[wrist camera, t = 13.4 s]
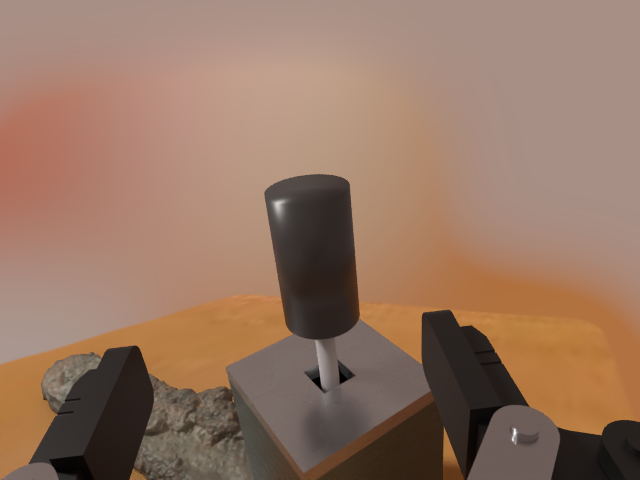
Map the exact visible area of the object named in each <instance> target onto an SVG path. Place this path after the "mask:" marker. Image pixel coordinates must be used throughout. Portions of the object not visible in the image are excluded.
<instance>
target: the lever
mask: <svg viewBox="0 0 640 480" xmlns="http://www.w3.org/2000/svg"><path fill="white" fill-rule="evenodd" d="M264 194H265V201H266V206H267V213H268V219H269V225H270V231H271V237H272V243H273V249H274V255H275V262H276V268H277V273H278V280H279V285H280V292H281V298H282V304H283V310H284V316H285V322H286V326H287V327H288V329H289V330H290V331H291V332H292V333H293V334H295V335H297V336H299V337H302V338H306V339H313V340H315V341H316V349H317V356H318V364H319V371H320V379H321V386H322V392H323V393H324V394H325V393H326V392H328V391H330V390H332V389H333V388H335V387H337V386H339V385H340V379H339V370H338V361H337V352H336V343H335V337H337V336H340V335H342V334H344V333H346V332H348V331H349V330H351V329H352V328H353V327H354V326H355V325H356V324H357V322H358V320H359V316H360V312H359V300H358V287H357V275H356V262H355V248H354V236H353V223H352V211H351V210H352V209H351V196H350V184H349V182H348V181H347V180H346V179H344V178H342V177H338V176H334V175H323V174H315V175H305V176H297V177H293V178H289V179H285V180H282V181H280V182H277V183H275V184H273V185H271V186H270V187H269V188H268V189H267V190H266V191H265V193H264Z"/></svg>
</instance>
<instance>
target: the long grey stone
mask: <svg viewBox="0 0 640 480" xmlns="http://www.w3.org/2000/svg"><path fill="white" fill-rule="evenodd" d="M101 359H102V358H101V357H100V356H99V355H96V354H94V353H93V352H91V353H90V354H79V355H71V356H69V357H67V358H65V359H63V360H59V361H56V362H55V363H54V365H53V366H52V367H51V368H49V369H48V370H47V372H46V373H45V375H44V377H43V380H42V383H41V387H42V393H43V399H44V400H47V401H48V403H49V404H50V409H51V410H52V411H54V412H55V413H58V411H59V409H60V407H61V406H62V404H63V403H65V399H66V397H67V395H68V393H69V391H70V390H71V388H72V386H73V384H74V383H75V382H76V381H77V380H79V379H80V378H81V377H82V376H83V375H84V374H85V373H86V372H87V371H88V370H90V369H97V367H98V365H99V363H100V361H101ZM149 377H150V380H151V383H152V386H153V391H154V404H153V409H152V412H151V415H150V418H149V421H148V424H147V428H146V431H145V434H144V437H143V440H142V443H141V446H140V449H139V452H138V455H137V458H136V461H135V464H134V467H133V468H135V469H136V470H138V471H139V472H140V473H141V474H143V475H144V476H145V477H146V479H147V480H254V479H253V475H252V471H251V467H250V463H249V459H248V455H247V451H246V447H245V443H244V439H243V435H242V431H241V427H240V422H239V418H238V414H237V410H236V406H235V403H234V402H232V400H233V399H232V397H233V394H232V390H231V389H228V388H227V387H217V388H214V389H208V390H205V391H203V392H200V393H197V394H196V393H195V392H194V391H193V390H192V389H182V390H178V389H177V388H173V387H170V386H168V385H166V383H165V382H164V381H159V380H158V379H157V378H155V377H154V376H152V375H150V374H149Z"/></svg>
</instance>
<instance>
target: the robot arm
mask: <svg viewBox="0 0 640 480" xmlns="http://www.w3.org/2000/svg"><path fill="white" fill-rule="evenodd" d="M422 364H423V370H424V374H425V377H426V380H427V382H428V385H429V388H430V390H431V393H432V396H433V398H434V401H435V403H436V406H437V409H438V411H439V414H440V417H441V419H442V422H443V424H444V427H445V430H446V432H447V435H448V437H449V440H450V443H451V445H452V448H453V451H454V453H455V456H456V458H457V461H458V464H459V466H460V469H461V472H462V474H463V477H464V479H465V480H640V422H636V421H630V420H619V421H614V422H611V423H610V424H608V425H607V426H606V427H605V428H604V430H603V432H602V435H595V434H589V433H582V432H575V431H569V430H565V429H562V428H558V427H556V425H555V424H554V423H553V422H552V420H551V419H549V418H548V417H547V416H546V415H544V414H543V413H541V412H540V411H538V410H536V409H533V408H530V407H529V405H528V404H527V402H526V400H525V399H524V397H523V396H522V394H521V392H520V391H519V389H518V387H517V386H516V384H515V382H514V381H513V379H512V378H511V376H510V374H509V373H508V371H507V369H506V368H505V366H504V365H503V364H502V363H501V360H500V358H499V356H498V355H497V353H495V350H494V348H493V347H492V345H491V343H490V342H489V340H488V339H487V337H486V336H485V335H484V334H482V333H481V332H480V331H478V330H477V329H476V328H474V327H473V326H472V325H471V326H463V327H460V326H459V324H458V323H457V321H456V319H455V317H454V315H453V313H452V312H451V311H450V310H442V311H434V312H425V313H423V315H422ZM153 404H154V391H153V386H152V383H151V380H150V377H149V374H148V371H147V368H146V365H145V362H144V359H143V357H142V354H141V351H140V349H139V347H138V346H128V347H119V348H110V349H108V350H106V352H105V353H104V355H103V357H102V359H101V361H100V363H99V365H98V367H97V369H90V370H88V371H87V372H86V373H85V374H84V375H83V376H82V377H81V378H80V379H79V380H77V381H76V382H75V383H74V384H73V386H72V388H71V390H70V391H69V393H68V395H67V397H66V399H65V403H63V404H62V406H61V407H60V409H59V411H58V413H57V414H58V415H57V416H55V418H54V420H53V422H52V423H51V425H50V427H49V429H48V430H47V432H46V434H45V436H44V437H43V439H42V441H41V443H40V445H39V446H38V448H37V450H36V452H35V453H34V455H33V457H32V459H31V460H30V462H29V464H28V465H25V466H23V467H20V468H18V469H16V470H15V471H13V472H11V473H10V474H8V475H7V476H6V477H4V478H3V479H2V480H129V479H130V476H131V473H132V470H133V467H134V464H135V461H136V458H137V455H138V452H139V449H140V446H141V443H142V440H143V437H144V434H145V431H146V428H147V424H148V421H149V418H150V415H151V412H152V409H153Z"/></svg>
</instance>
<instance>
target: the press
mask: <svg viewBox="0 0 640 480" xmlns="http://www.w3.org/2000/svg"><path fill="white" fill-rule="evenodd" d="M335 343H336V352H337V361H338V370H339V379H340V385H339V386H337V387H335V388H333V389H332V390H330V391H328V392H326V393H325V394H324V393H323V392H322V386H321V379H320V371H319V364H318V356H317V349H316V341H315V340H313V339H306V338H302V337H299V336H297V335H295V334H293V335H291V336H289V337H287V338H285V339H283V340H281V341H279V342H277V343H275V344H273V345H270V346H268V347H266V348H264V349H262V350H260V351H258V352H256V353H254V354H252V355H250V356H248V357H246V358H243V359H241V360H239V361H237V362H235V363H233V364H231V365H229V366H227V367H226V370H227V374H228V378H229V382H230V386H231V390H232V394H233V398H234V402H235V406H236V410H237V414H238V418H239V422H240V427H241V431H242V435H243V439H244V443H245V447H246V451H247V455H248V459H249V463H250V467H251V471H252V475H253V479H254V480H443V438H444V424H443V422H442V419H441V417H440V414H439V411H438V409H437V406H436V403H435V401H434V398H433V396H432V393H431V390H430V388H429V385H428V382H427V380H426V377H425V374H424V370H423V365H422V364H420V363H419V362H418V361H416V360H415V359H414V358H412V357H411V356H409V355H408V354H407V353H405V352H404V351H403V350H401V349H400V348H399V347H397V346H396V345H394V344H393V343H392V342H390V341H389V340H388V339H386V338H385V337H384V336H382V335H381V334H379V333H378V332H377V331H375V330H374V329H373V328H371V327H370V326H369V325H367V324H366V323H365V322H363V321H362V320H360V319H359V320H358V322H357V324H356V325H355V326H354V327H353V328H352V329H351V330H349V331H348V332H346V333H344V334H342V335H340V336H337V337H335Z"/></svg>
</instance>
